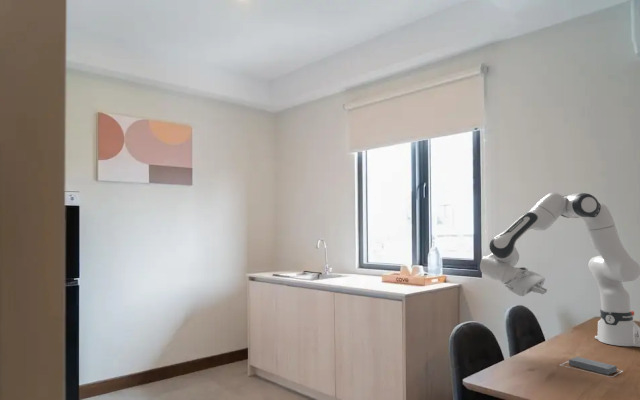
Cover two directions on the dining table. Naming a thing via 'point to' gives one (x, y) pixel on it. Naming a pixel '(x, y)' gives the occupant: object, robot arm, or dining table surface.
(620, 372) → the white wire frame
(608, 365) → the tile
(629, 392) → the dining table surface
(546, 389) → the dining table surface
